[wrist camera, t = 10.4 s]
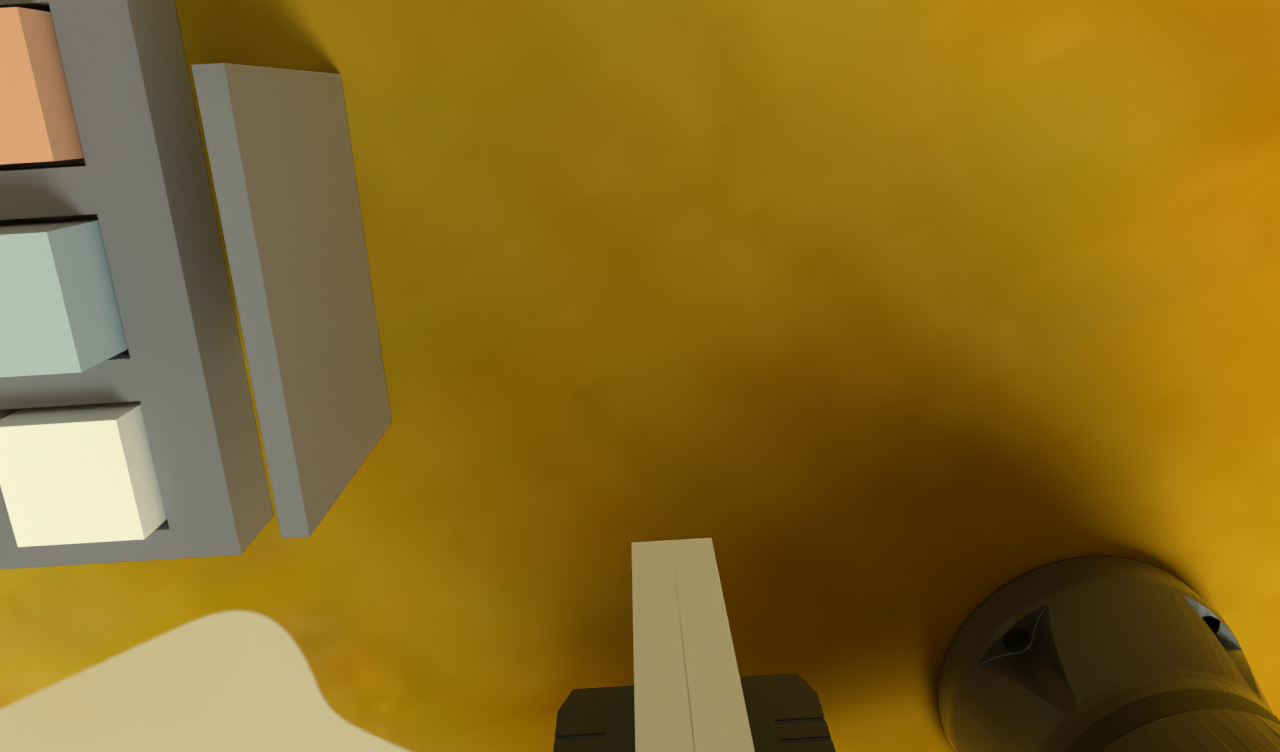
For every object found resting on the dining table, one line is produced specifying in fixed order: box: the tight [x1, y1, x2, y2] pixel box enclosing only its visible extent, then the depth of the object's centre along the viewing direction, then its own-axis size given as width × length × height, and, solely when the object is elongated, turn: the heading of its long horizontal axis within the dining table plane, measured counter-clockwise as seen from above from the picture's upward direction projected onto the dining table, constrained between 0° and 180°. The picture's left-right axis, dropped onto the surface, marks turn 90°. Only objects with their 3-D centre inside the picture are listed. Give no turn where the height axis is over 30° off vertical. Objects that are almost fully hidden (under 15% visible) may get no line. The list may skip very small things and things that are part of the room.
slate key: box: [0, 219, 128, 377], centre depth 37 cm, size 6×6×4 cm
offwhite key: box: [0, 401, 167, 547], centre depth 41 cm, size 6×6×4 cm
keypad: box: [0, 0, 392, 569], centre depth 36 cm, size 25×18×12 cm
